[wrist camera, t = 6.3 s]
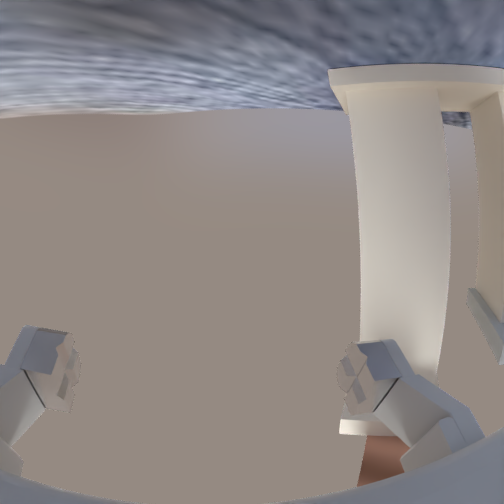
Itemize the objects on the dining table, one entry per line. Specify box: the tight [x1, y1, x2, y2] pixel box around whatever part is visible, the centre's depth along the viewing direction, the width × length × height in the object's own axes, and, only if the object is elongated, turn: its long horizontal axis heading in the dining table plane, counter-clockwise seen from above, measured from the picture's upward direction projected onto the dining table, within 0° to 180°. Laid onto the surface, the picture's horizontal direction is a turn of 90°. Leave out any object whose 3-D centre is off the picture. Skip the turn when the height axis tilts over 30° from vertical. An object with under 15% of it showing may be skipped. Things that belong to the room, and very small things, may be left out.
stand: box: [328, 64, 504, 436], centre depth 24 cm, size 14×24×32 cm, turn 113°
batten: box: [357, 435, 410, 487], centre depth 28 cm, size 24×4×4 cm, turn 23°
